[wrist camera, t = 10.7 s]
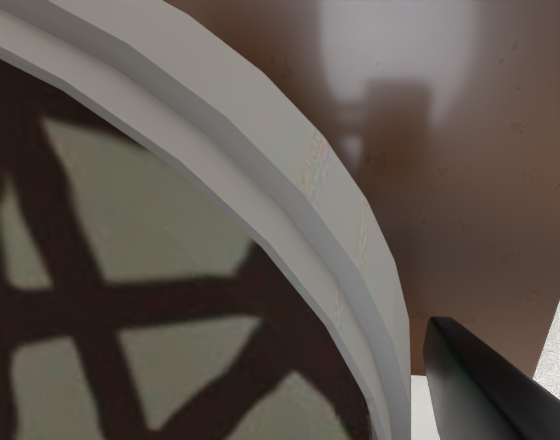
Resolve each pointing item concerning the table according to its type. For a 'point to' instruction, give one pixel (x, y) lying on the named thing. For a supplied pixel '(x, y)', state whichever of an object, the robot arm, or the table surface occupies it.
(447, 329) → the robot arm
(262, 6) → the walnut board
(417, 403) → the table surface
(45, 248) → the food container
